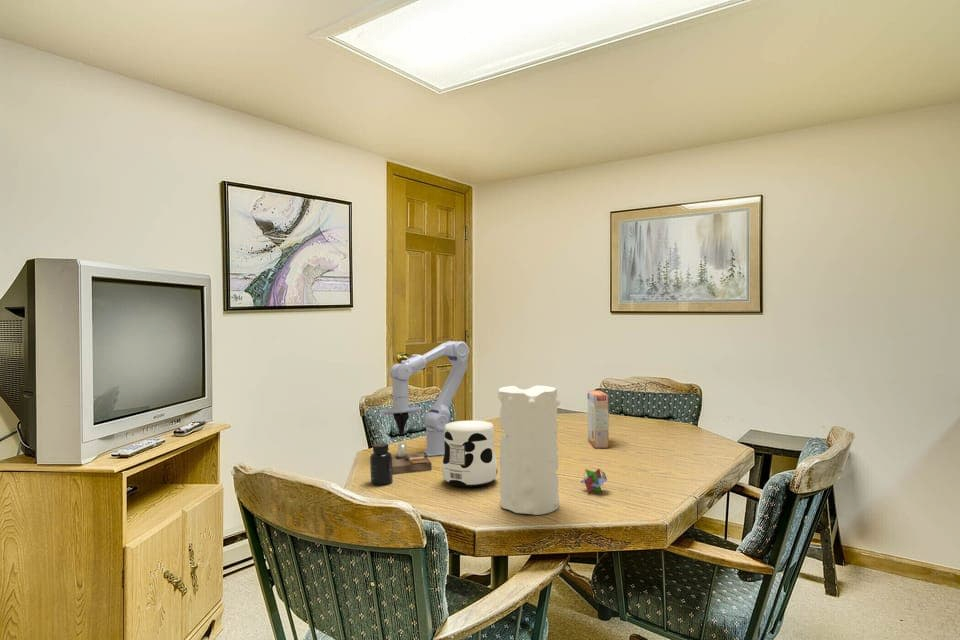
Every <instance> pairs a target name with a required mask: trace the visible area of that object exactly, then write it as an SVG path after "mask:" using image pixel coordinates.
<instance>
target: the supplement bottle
mask: <svg viewBox="0 0 960 640" xmlns="http://www.w3.org/2000/svg"><path fill="white" fill-rule="evenodd" d="M372 452H373V453H371V455H370V457H369V466H370V469H369V471H370V484H371V485H373V486H378V487H379V486H388V485H390V484H392V483H393V477H394V476H393V475H394V474H393V473H392V455H393V454H392V453H391V452H389V444H388V443H385V442H381V443H379V442H378V443H375V444H373V445H372Z"/></svg>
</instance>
